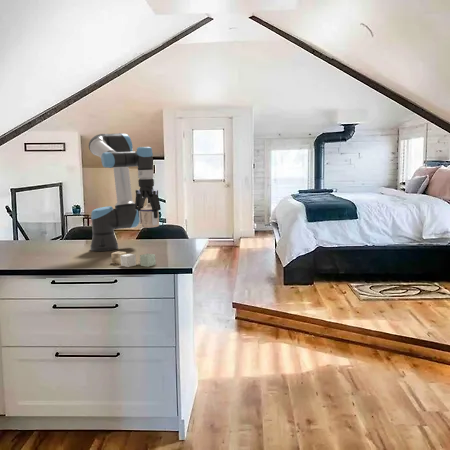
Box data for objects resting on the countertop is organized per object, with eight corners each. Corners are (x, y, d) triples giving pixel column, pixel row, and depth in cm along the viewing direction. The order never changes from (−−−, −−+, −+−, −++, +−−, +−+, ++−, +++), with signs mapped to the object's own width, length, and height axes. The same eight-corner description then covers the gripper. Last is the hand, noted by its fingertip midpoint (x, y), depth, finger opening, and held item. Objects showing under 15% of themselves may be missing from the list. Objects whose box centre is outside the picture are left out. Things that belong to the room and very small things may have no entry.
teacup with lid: (147, 224, 264) (145, 202, 262) (162, 225, 261) (161, 202, 259) (134, 228, 253) (133, 204, 251) (151, 228, 249) (150, 204, 248)
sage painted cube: (140, 265, 243) (139, 255, 242) (148, 263, 246) (147, 253, 246) (147, 266, 239) (147, 256, 239) (155, 264, 243) (155, 254, 243)
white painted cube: (121, 265, 244) (120, 255, 243) (129, 263, 247) (129, 253, 247) (127, 267, 240) (126, 256, 240) (136, 265, 244) (135, 254, 243)
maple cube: (111, 263, 250) (111, 253, 249) (118, 261, 254) (118, 251, 254) (120, 264, 248) (119, 253, 247) (126, 262, 252) (126, 252, 251)
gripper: (125, 178, 257) (128, 223, 260) (155, 179, 244) (158, 226, 247) (136, 178, 263) (139, 221, 266) (166, 178, 250) (169, 224, 253)
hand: (148, 224), depth 257 cm, fingers closed on teacup with lid, 8 cm apart
